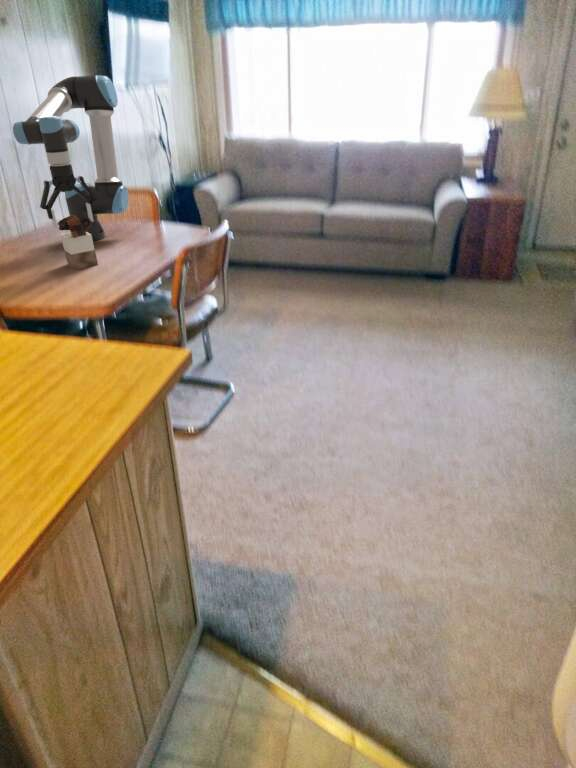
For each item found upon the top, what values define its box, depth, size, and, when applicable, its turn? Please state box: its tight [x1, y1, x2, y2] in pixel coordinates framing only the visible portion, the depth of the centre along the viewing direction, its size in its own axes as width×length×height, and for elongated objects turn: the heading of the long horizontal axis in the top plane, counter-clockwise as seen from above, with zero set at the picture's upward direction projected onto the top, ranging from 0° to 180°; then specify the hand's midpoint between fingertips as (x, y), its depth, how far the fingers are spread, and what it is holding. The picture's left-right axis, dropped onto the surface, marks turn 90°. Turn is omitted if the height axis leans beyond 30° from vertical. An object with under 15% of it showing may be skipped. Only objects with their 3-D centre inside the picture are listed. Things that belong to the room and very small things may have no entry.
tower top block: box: [60, 231, 96, 255], centre depth 209 cm, size 9×9×6 cm
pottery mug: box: [57, 215, 92, 238], centre depth 206 cm, size 12×10×8 cm
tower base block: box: [63, 249, 99, 271], centre depth 212 cm, size 9×9×6 cm
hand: (73, 224), depth 206 cm, fingers open, 13 cm apart
